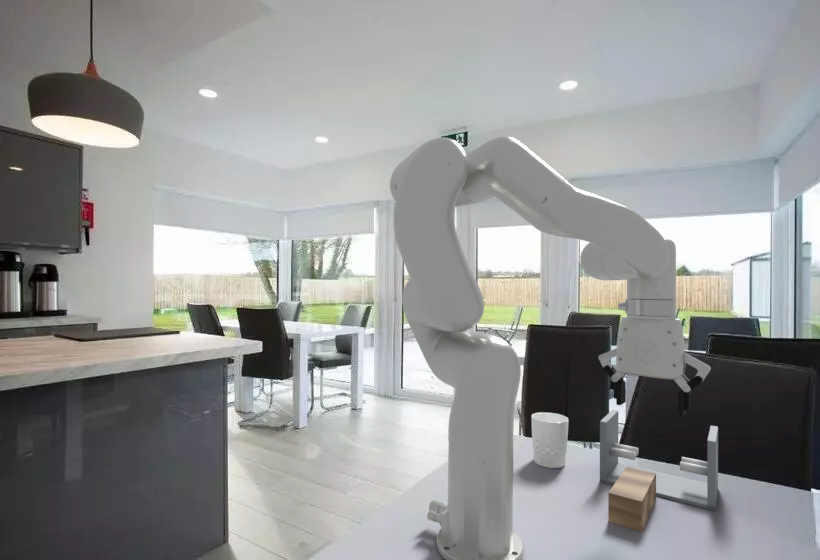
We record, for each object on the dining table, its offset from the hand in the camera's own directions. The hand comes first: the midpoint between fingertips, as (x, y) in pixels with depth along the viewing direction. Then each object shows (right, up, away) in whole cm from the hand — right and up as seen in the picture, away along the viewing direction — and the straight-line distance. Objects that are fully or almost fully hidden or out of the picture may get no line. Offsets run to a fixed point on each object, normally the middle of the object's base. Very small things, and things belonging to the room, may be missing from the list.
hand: (650, 408), depth 77 cm
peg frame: (+7, -18, +11) cm, 23 cm away
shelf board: (-3, -18, +1) cm, 18 cm away
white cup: (-11, -18, +22) cm, 30 cm away
